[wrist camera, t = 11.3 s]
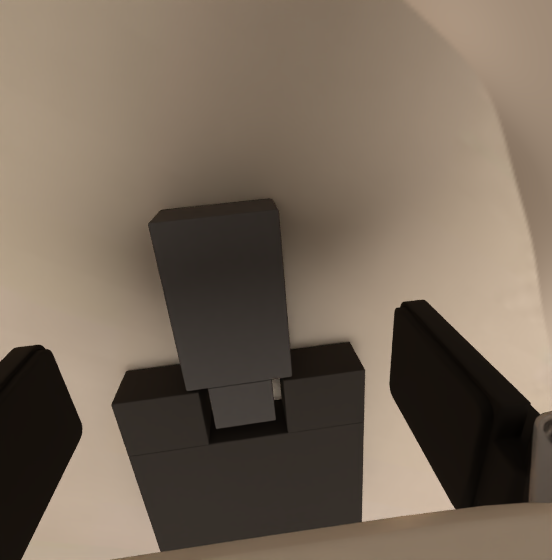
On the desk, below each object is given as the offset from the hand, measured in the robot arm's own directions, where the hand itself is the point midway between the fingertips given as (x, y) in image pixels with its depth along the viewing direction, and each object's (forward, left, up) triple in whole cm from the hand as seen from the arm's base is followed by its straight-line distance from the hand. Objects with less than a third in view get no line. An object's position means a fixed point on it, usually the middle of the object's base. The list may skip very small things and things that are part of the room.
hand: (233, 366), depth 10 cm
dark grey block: (+2, 0, -8) cm, 8 cm away
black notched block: (+11, 0, -8) cm, 14 cm away
